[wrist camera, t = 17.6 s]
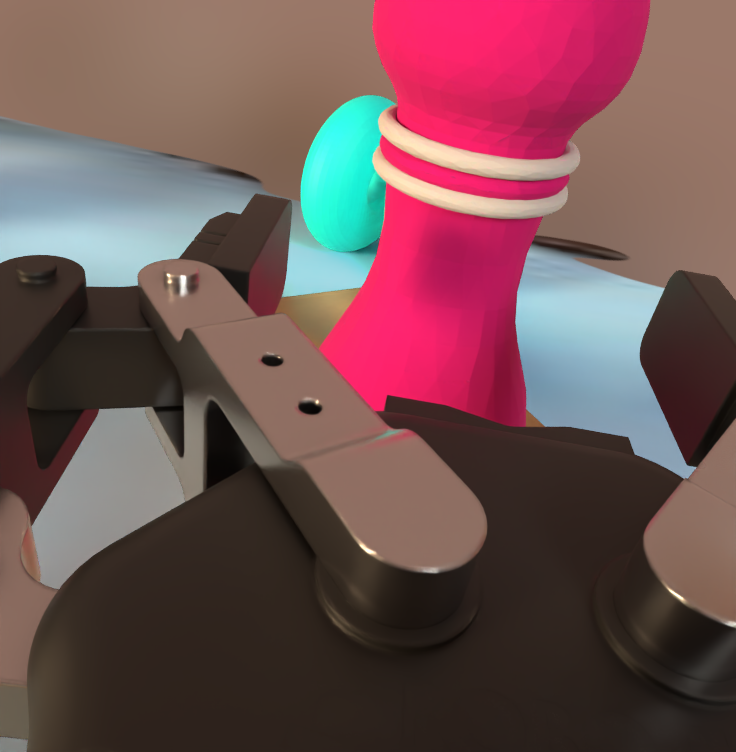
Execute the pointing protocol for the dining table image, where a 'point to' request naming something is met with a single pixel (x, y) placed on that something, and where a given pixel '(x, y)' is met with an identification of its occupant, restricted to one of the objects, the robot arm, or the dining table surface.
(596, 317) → the dining table surface
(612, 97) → the pepper mill
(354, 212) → the turquoise spool
